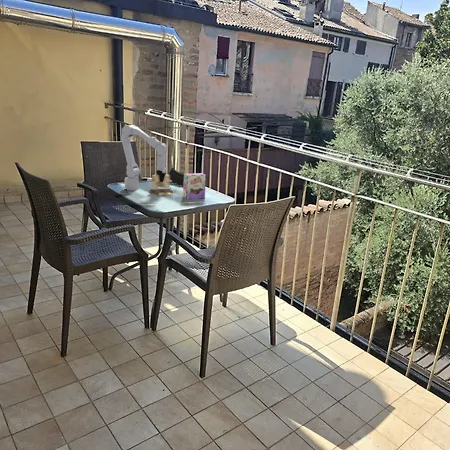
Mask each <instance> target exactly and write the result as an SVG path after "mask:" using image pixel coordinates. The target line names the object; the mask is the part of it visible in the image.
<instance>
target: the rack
mask: <svg viewBox="0 0 450 450" xmlns="http://www.w3.org/2000/svg"><path fill="white" fill-rule="evenodd" d="M168 192H170V193H171V194H172V193H173V194H174V191H173V190H172V189H171V188H156V189H149V190H148V193H150V194H158V193H168Z"/></svg>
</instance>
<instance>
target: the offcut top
mask: <svg viewBox="0 0 450 450" xmlns="http://www.w3.org/2000/svg"><path fill="white" fill-rule="evenodd" d="M157 195H158V196H159V197H161V196H162V197H163V196H164V197H165V196H167V197H168V196H171V197H172V193H170V192H168V193H157Z"/></svg>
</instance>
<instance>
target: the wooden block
mask: <svg viewBox="0 0 450 450" xmlns="http://www.w3.org/2000/svg"><path fill="white" fill-rule="evenodd" d="M168 187H171V180H170V175H169V174H166V175H165V177H164V181H163V182H160V180H159V175H157V174H152V175H151V188H168Z"/></svg>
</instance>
